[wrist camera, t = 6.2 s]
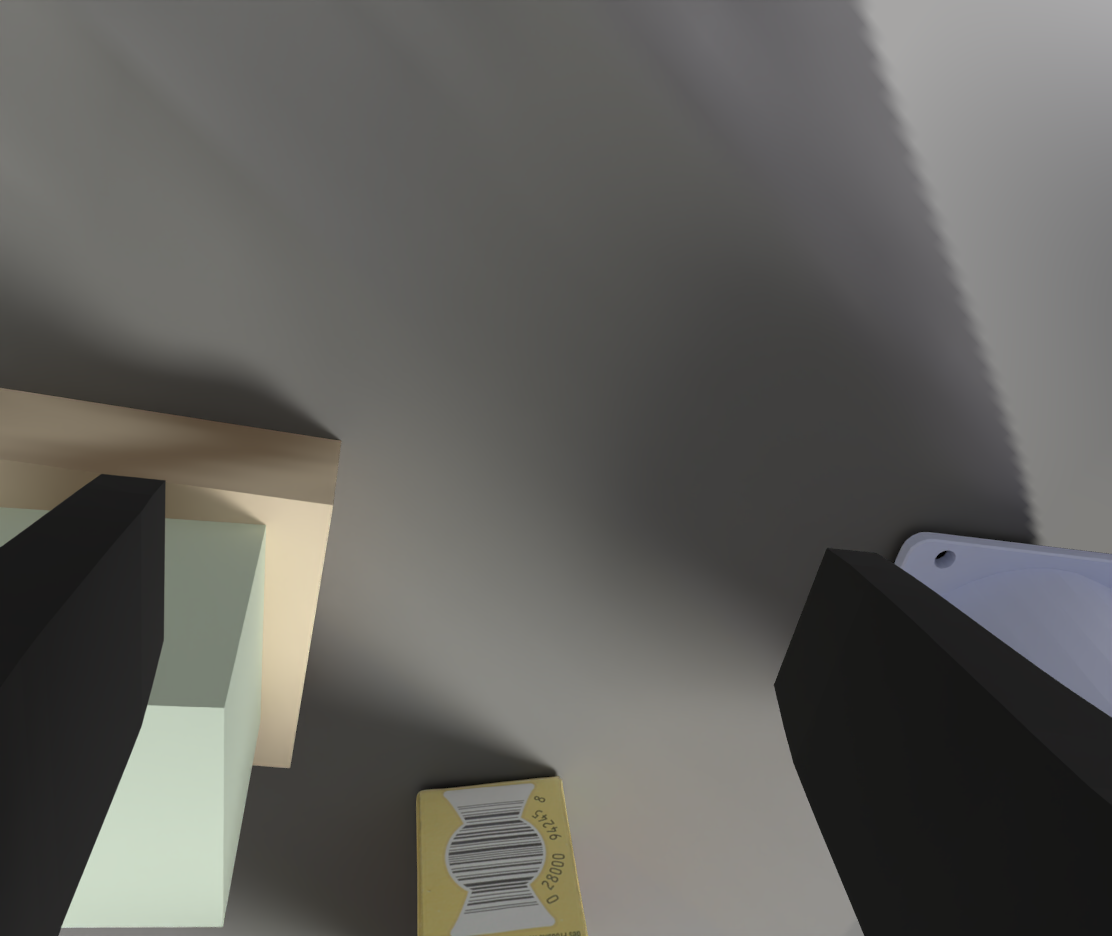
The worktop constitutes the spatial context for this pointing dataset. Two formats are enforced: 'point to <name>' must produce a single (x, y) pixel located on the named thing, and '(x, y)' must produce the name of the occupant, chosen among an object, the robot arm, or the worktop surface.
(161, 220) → the worktop surface
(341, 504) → the worktop surface
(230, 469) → the beech block
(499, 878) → the candy box
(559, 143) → the worktop surface
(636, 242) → the worktop surface
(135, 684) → the robot arm
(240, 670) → the sage cube
